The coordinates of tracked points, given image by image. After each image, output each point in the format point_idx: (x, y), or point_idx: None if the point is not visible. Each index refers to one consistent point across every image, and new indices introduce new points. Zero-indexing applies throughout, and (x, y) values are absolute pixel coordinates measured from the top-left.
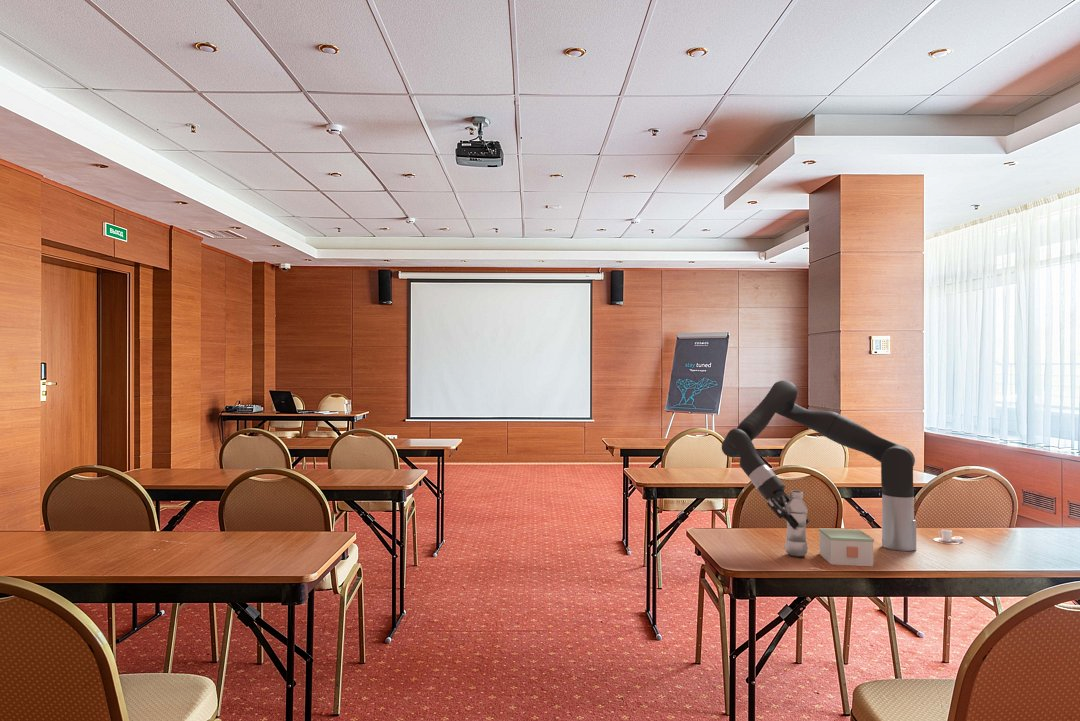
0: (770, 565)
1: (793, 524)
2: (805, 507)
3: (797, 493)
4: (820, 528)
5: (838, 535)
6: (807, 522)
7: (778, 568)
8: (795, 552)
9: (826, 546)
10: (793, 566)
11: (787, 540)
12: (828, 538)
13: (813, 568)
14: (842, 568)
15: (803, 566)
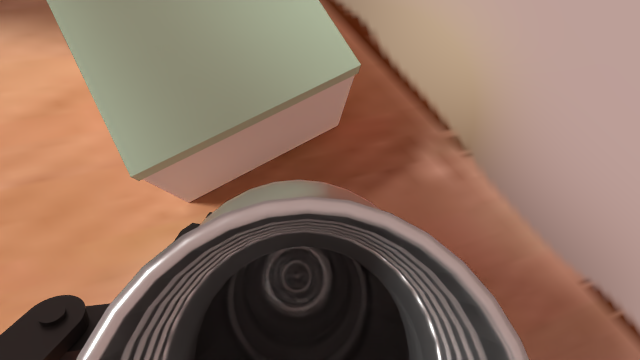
0: (523, 319)
1: None
2: (328, 186)
3: (503, 326)
4: (136, 166)
5: (278, 40)
6: None
7: (538, 275)
8: (344, 267)
9: (283, 131)
10: (467, 235)
11: (333, 325)
12: (314, 93)
13: (438, 165)
14: (363, 82)
15: (439, 203)
